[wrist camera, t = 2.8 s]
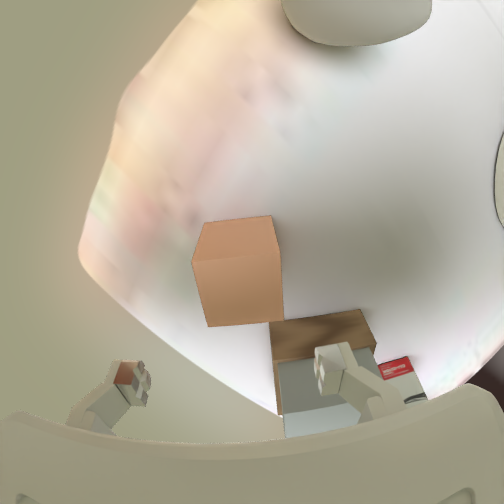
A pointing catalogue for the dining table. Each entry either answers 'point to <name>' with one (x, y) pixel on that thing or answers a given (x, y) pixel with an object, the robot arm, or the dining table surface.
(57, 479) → the robot arm
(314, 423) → the slate block
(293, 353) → the walnut block
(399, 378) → the ink box
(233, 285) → the terracotta block
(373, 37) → the figurine
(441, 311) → the dining table surface
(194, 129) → the dining table surface
